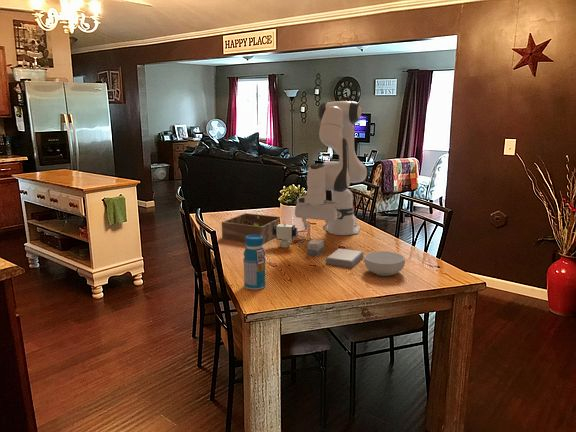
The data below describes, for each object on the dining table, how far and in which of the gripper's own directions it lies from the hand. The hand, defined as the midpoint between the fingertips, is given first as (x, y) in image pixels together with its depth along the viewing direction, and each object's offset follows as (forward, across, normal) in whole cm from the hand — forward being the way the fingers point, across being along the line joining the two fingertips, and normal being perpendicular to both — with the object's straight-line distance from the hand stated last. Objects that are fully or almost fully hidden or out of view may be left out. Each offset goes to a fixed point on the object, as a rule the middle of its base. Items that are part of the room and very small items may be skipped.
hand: (315, 228), depth 221 cm
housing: (+12, 0, -1) cm, 13 cm away
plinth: (+12, -16, +3) cm, 21 cm away
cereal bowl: (+13, -36, +11) cm, 40 cm away
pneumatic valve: (+12, +18, -5) cm, 22 cm away
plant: (+13, +42, -15) cm, 46 cm away
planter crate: (+12, +42, -15) cm, 46 cm away
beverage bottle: (+14, +5, +48) cm, 50 cm away
